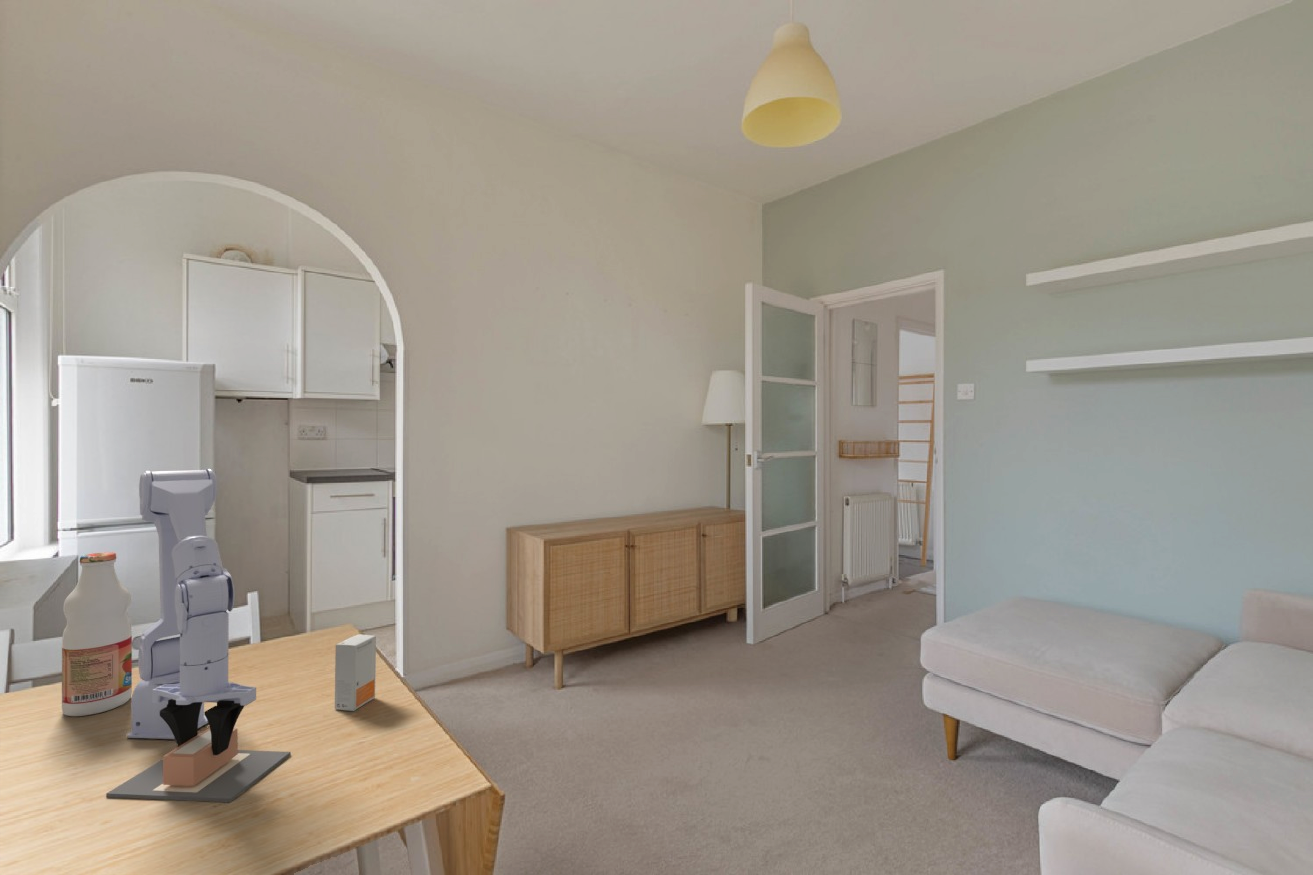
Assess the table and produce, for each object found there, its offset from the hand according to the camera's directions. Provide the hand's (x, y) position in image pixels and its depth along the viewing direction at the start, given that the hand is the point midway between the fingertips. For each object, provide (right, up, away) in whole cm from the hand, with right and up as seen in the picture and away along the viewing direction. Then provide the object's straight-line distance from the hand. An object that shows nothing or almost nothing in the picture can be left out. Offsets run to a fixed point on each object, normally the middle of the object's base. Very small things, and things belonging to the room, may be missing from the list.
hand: (204, 750), depth 87 cm
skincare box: (+10, -4, +23) cm, 26 cm away
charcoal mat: (0, -3, 0) cm, 3 cm away
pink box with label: (0, -2, 0) cm, 2 cm away
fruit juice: (-37, -4, +22) cm, 43 cm away
